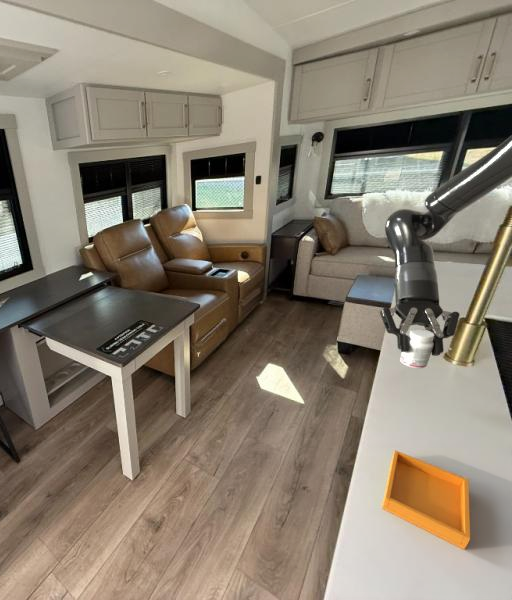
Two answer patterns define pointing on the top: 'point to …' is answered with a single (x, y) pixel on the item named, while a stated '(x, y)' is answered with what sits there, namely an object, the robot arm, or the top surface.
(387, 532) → the top surface
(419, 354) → the pill bottle
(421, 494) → the amber tray
